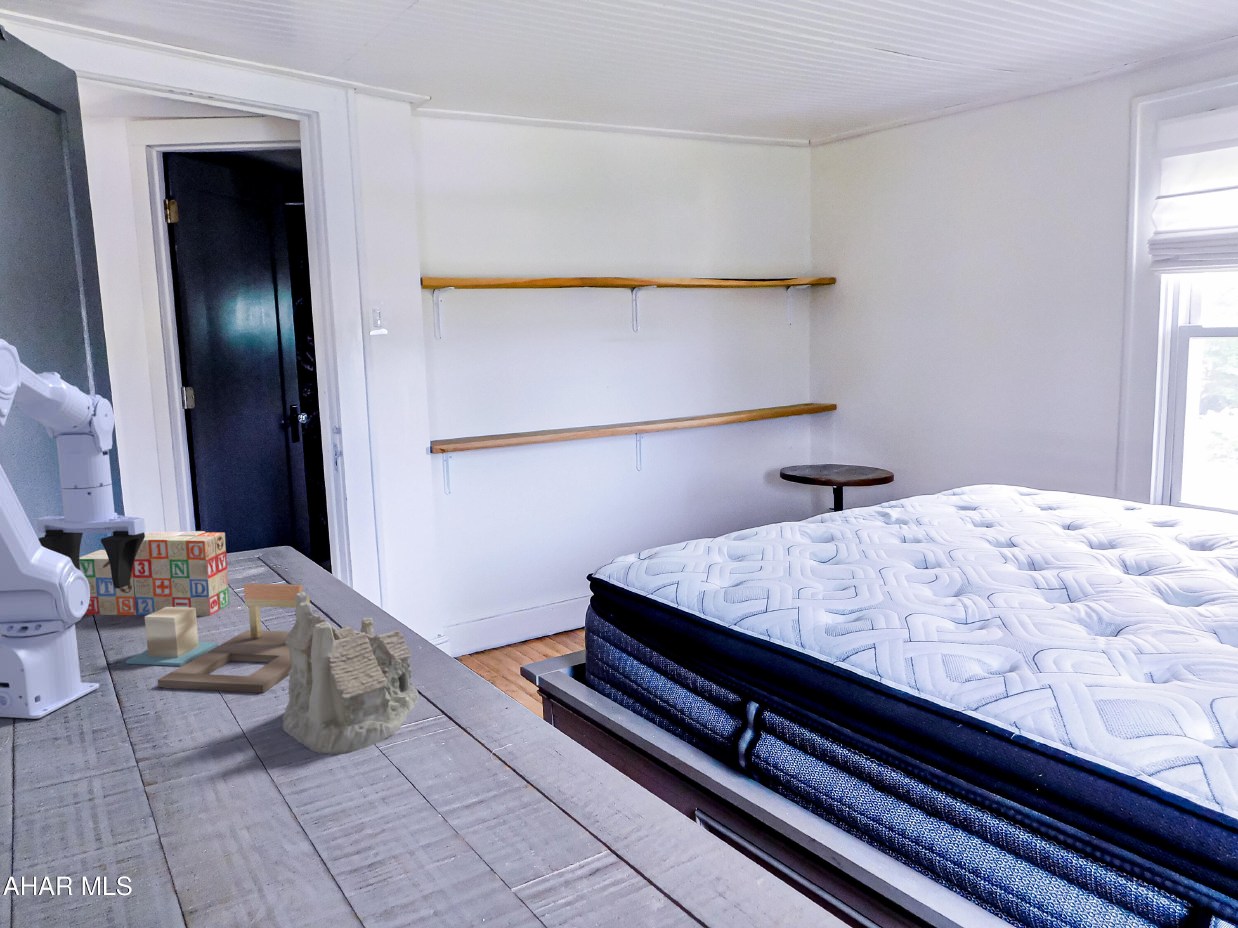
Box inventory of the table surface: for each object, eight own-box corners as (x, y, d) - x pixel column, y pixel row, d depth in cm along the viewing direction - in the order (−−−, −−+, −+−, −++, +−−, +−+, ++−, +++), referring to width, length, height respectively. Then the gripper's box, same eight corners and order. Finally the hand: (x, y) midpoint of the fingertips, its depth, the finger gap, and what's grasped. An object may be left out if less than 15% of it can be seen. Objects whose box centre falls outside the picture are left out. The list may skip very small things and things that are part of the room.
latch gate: (302, 641, 118) (299, 586, 117) (247, 638, 120) (243, 584, 119) (312, 635, 121) (308, 581, 120) (258, 632, 122) (254, 579, 121)
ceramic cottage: (310, 762, 86) (308, 613, 85) (266, 714, 99) (264, 584, 98) (454, 729, 95) (454, 595, 94) (397, 689, 108) (396, 571, 107)
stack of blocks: (79, 616, 137) (71, 539, 135) (105, 604, 143) (98, 531, 141) (211, 616, 135) (204, 539, 134) (231, 604, 141) (225, 530, 140)
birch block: (177, 657, 116) (174, 617, 115) (148, 656, 116) (144, 616, 115) (198, 646, 120) (195, 607, 119) (169, 645, 120) (166, 606, 120)
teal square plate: (180, 666, 113) (180, 663, 113) (126, 663, 115) (126, 660, 115) (218, 645, 121) (218, 642, 121) (166, 643, 123) (166, 640, 122)
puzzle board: (263, 692, 104) (262, 684, 104) (158, 687, 106) (157, 679, 106) (338, 640, 123) (338, 633, 122) (248, 636, 125) (247, 629, 125)
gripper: (156, 481, 117) (165, 579, 119) (62, 480, 119) (72, 576, 121) (119, 489, 110) (129, 593, 112) (19, 488, 113) (30, 590, 114)
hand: (96, 585), depth 116 cm, fingers open, 7 cm apart
